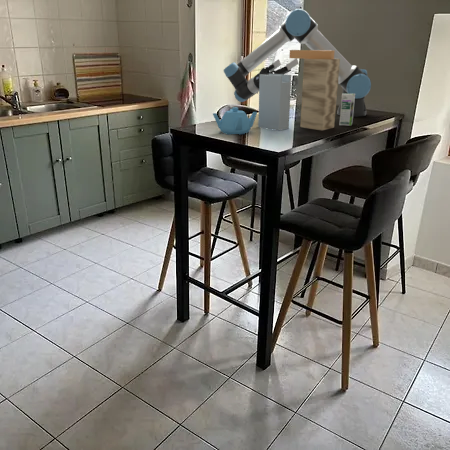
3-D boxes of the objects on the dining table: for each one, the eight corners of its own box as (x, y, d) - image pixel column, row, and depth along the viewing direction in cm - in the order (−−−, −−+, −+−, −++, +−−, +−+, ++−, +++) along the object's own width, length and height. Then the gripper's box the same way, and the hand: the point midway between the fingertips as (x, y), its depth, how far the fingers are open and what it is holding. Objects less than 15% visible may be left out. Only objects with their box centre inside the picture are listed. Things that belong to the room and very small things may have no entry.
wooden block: (312, 124, 222) (317, 58, 211) (334, 127, 214) (340, 58, 203) (300, 127, 215) (304, 58, 204) (322, 130, 208) (327, 59, 196)
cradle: (268, 125, 220) (270, 73, 211) (288, 128, 213) (291, 74, 204) (258, 127, 215) (259, 74, 206) (278, 130, 208) (280, 76, 199)
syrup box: (338, 125, 219) (341, 93, 213) (340, 123, 224) (343, 92, 219) (351, 126, 217) (354, 94, 212) (352, 124, 222) (355, 92, 217)
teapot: (259, 131, 207) (259, 106, 203) (240, 137, 195) (241, 111, 191) (230, 127, 215) (230, 104, 211) (211, 133, 203) (211, 108, 199)
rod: (292, 57, 213) (293, 49, 212) (333, 58, 203) (334, 50, 202) (289, 58, 210) (289, 50, 209) (330, 59, 200) (331, 50, 199)
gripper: (276, 87, 240) (307, 67, 224) (244, 91, 223) (274, 70, 207) (271, 74, 240) (301, 53, 224) (238, 77, 223) (268, 54, 207)
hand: (288, 61), depth 215 cm, fingers open, 13 cm apart
